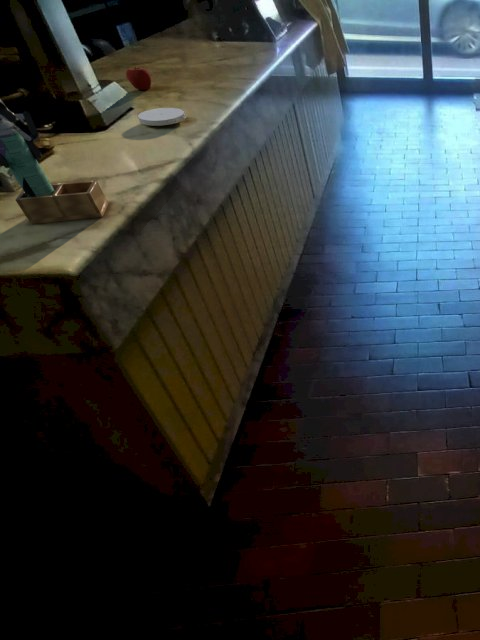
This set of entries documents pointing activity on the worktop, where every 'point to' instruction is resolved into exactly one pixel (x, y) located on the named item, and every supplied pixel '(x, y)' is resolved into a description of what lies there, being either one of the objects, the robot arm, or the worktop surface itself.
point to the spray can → (22, 162)
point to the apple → (139, 78)
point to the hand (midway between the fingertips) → (23, 162)
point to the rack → (65, 203)
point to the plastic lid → (162, 116)
